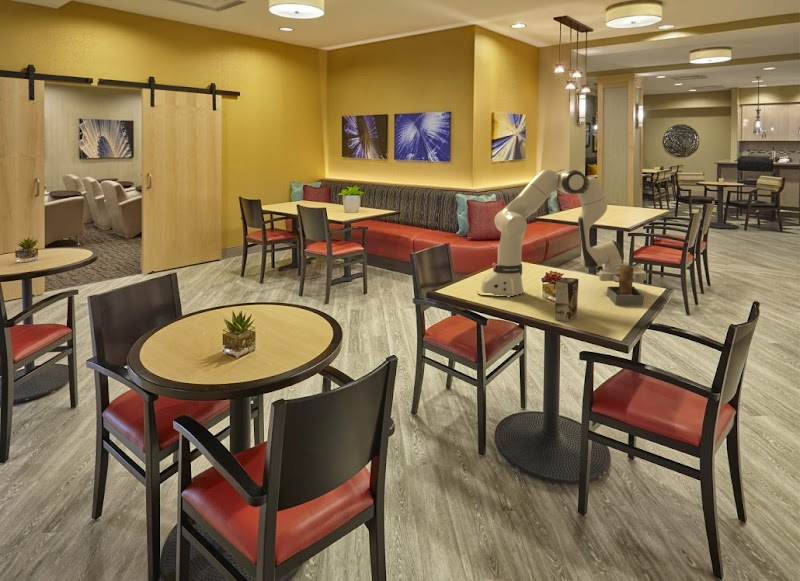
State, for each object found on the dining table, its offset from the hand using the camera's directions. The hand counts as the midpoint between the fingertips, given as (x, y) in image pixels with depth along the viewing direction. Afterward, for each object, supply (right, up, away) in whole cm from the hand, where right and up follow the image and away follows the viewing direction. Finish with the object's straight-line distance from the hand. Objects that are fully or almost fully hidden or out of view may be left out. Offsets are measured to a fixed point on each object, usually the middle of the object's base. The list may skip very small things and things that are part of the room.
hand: (626, 279), depth 248 cm
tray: (0, -9, +3) cm, 10 cm away
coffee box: (-32, -16, -18) cm, 40 cm away
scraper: (0, -7, +3) cm, 8 cm away
